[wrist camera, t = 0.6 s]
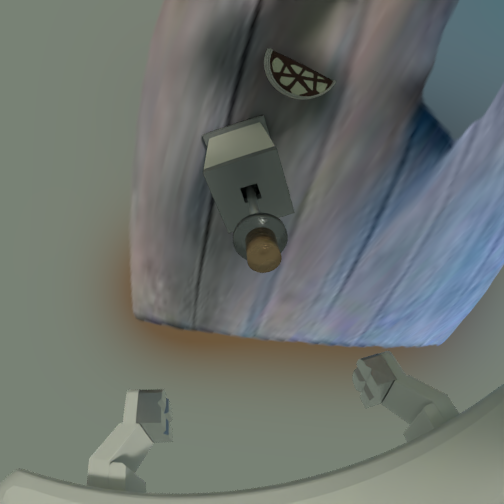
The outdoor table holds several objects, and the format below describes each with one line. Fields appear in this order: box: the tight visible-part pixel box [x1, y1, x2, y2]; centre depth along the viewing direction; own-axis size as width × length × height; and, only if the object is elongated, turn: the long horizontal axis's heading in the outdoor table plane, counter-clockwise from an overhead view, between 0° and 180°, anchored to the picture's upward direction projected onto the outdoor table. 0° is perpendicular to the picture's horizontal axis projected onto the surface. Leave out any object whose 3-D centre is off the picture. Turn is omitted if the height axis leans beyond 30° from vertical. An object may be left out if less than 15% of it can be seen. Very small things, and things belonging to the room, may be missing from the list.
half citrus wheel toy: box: [264, 48, 336, 100], centre depth 42 cm, size 12×6×10 cm, turn 66°
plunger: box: [233, 183, 288, 273], centre depth 35 cm, size 7×7×19 cm
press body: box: [203, 115, 294, 233], centre depth 47 cm, size 12×12×20 cm
